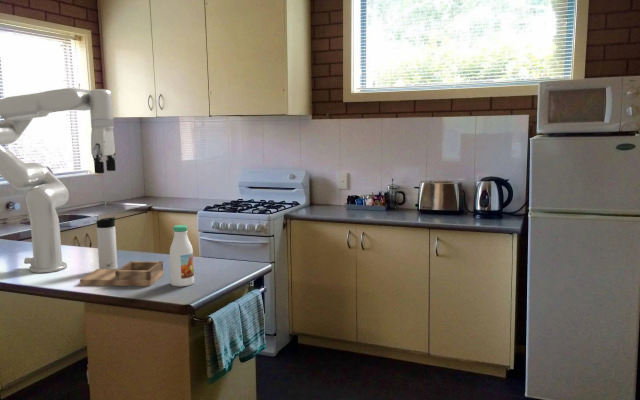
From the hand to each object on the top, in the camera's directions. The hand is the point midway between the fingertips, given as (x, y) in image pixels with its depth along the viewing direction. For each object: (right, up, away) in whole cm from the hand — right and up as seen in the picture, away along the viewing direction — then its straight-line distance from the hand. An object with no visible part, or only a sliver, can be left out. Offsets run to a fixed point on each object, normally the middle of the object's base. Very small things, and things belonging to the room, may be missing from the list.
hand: (105, 171), depth 198 cm
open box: (+9, -38, -9) cm, 40 cm away
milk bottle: (+31, -39, -13) cm, 52 cm away
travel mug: (0, -37, +3) cm, 37 cm away
